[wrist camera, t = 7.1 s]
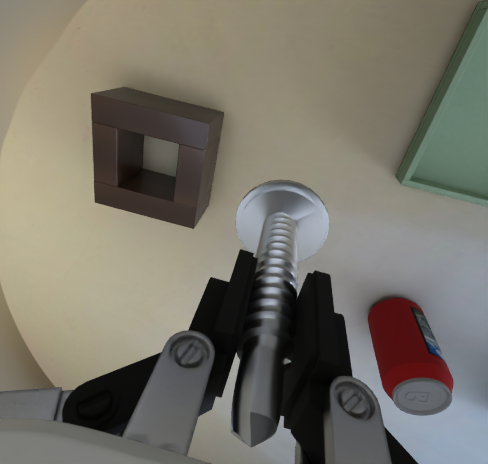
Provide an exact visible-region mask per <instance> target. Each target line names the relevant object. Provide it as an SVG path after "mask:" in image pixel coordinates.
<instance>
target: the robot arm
mask: <svg viewBox="0 0 488 464" xmlns="http://www.w3.org/2000/svg"><path fill="white" fill-rule="evenodd" d="M253 255H254V253H252V252H248V251H245V250H241V249H240V251H239V254H238V257H237V260H236V264H235V267H234V270H233V273H232V276H231V279H230V282H226V281H223V280H219V279H216V278H212V277H211V278H210V279H209V282H208V284H207V286H206V289H205V291H204V294H203V296H202V299H201V301H200V303H199V306H198V308H197V311H196V313H195V315H194V318H193V320H192V323H191V325H190V327H189V330H188V331H181V332H179V333H176V334H174V335H173V336H172V337H170V338H169V340H168V341H167V343H166V344H165V346H164V349H163V351H162V352H161V353H158V354H156V355H153V356H151V357H148V358H146V359H143V360H141V361H138V362H136V363H133V364H130V365H128V366H125V367H123V368H120V369H118V370H115V371H113V372H110V373H108V374H105V375H103V376H100V377H97V378H95V379H92V380H90V381H87V382H85V383H84V384H82V385H80V386H78V387H77V388H76V389H75V390H66V391H62V387H56V388H43V389H29V390H16V391H2V392H0V464H211V463H208V462H204V461H201V460H197V459H194V458H191V457H187V454H188V451H189V447H190V444H191V440H192V437H193V433H194V430H195V426H196V423H197V419H198V417H199V416H200V415H202V414H204V413H206V412H207V411H209V410H211V409H212V407H213V404H214V400H215V397H216V396H217V397H222V394H223V391H224V388H225V385H226V382H227V379H228V376H229V372H230V369H231V366H232V363H233V360H234V357H235V354H236V351H237V348H238V345H239V342H240V338H241V334H242V330H243V326H244V321H245V317H246V312H247V308H248V303H249V299H250V294H251V290H252V285H253V281H254V276H255V272H256V267H257V263H258V258H255V257H253ZM296 304H297V309H296V312H295V314H296V323H295V325H294V326H295V328H296V335H295V337H294V339H293V342H294V351H293V353H292V354H291V355H290V356H289V357H287V358H286V359H288V360H290V361H291V367H290V369H289V370H288V371H286V372H285V373H284V388H283V402H282V410H281V416H284V428H287V429H290V430H291V434H292V435H293V436H294V438H295V439H296V446H295V464H418V463H417V462H416V461H415V460H414V459H413V457H412V456H411V455H410V454H409V453H408V452H407V451H406V450H405V449H404V448H403V446H402V445H401V444H400V443H399V442H398V441H397V440H396V439H395V438H394V437H393V436H392V434H391V433H390V432H389V431H388V430H387V429H386V428H385V427H384V424H383V419H382V414H381V409H380V405H379V402H378V400H377V398H376V396H375V395H374V393H373V391H372V390H371V389H370V388H369V387H368V386H367V385H366V384H364V383H363V382H361V381H360V380H358V379H356V378H353V376H352V369H351V362H350V355H349V348H348V341H347V334H346V327H345V320H344V316H343V315H341V314H338V313H334V305H333V296H332V286H331V277H330V275H329V274H326V273H322V272H319V271H314V272H313V274H312V273H308V274H307V276H306V279H305V281H304V283H303V286H302V288H301V290H300V293H299V295H298V298H297V300H296Z"/></svg>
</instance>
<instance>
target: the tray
mask: <svg viewBox="0 0 488 464" xmlns="http://www.w3.org/2000/svg"><path fill="white" fill-rule="evenodd" d="M396 178H397V180H398V181H399V182H400V184H401V185H405V186H409V187H413V188H417V189H421V190H425V191H429V192H433V193H437V194H441V195H444V196H448V197H452V198H456V199H460V200H464V201H468V202H472V203H476V204H480V205H484V206H487V207H488V0H486V1H482V2H479V3H478V5H477V7H476V9H475V11H474V13H473V15H472V17H471V19H470V21H469V23H468V26H467V28H466V30H465V32H464V34H463V36H462V38H461V40H460V42H459V44H458V46H457V49H456V51H455V53H454V55H453V57H452V59H451V61H450V63H449V65H448V67H447V70H446V72H445V74H444V76H443V78H442V80H441V82H440V84H439V86H438V88H437V90H436V93H435V95H434V97H433V99H432V101H431V103H430V105H429V107H428V109H427V111H426V114H425V116H424V118H423V120H422V122H421V124H420V126H419V128H418V130H417V132H416V134H415V137H414V139H413V141H412V143H411V145H410V147H409V149H408V151H407V153H406V155H405V158H404V160H403V162H402V164H401V166H400V168H399V170H398V172H397V174H396Z"/></svg>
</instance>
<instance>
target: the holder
mask: <svg viewBox="0 0 488 464" xmlns="http://www.w3.org/2000/svg"><path fill="white" fill-rule="evenodd" d="M91 109H92V121H93V122H92V134H93V161H94V193H95V203H99V204H103V205H107V206H110V207H114V208H118V209H122V210H125V211H129V212H133V213H136V214H140V215H144V216H148V217H151V218H155V219H159V220H163V221H166V222H170V223H174V224H178V225H181V226H185V227H189V228H192V229H194V228H195V226H196V225H197V223H198V222H199V220H200V218H201V217H202V215H203V214H204V212H205V210H206V209H207V207H208V206H209V200H210V194H211V188H212V183H213V177H214V171H215V165H216V159H217V153H218V147H219V141H220V134H221V128H222V122H223V116H224V112H221V111H217V110H213V109H209V108H205V107H201V106H197V105H193V104H189V103H185V102H181V101H177V100H173V99H169V98H165V97H161V96H158V95H154V94H150V93H146V92H142V91H138V90H134V89H130V88H126V87H121V88H116V89H111V90H106V91H101V92H96V93H91ZM144 135H147V136H151V137H155V138H158V139H162V140H166V141H170V142H174V143H178V144H179V153H178V163H177V173H176V177H172V176H168V175H164V174H161V173H157V172H153V171H149V170H145V169H142V163H143V141H144Z"/></svg>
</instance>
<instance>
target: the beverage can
mask: <svg viewBox="0 0 488 464" xmlns="http://www.w3.org/2000/svg"><path fill="white" fill-rule="evenodd" d="M368 324H369V329H370V333H371V338H372V343H373V347H374V351H375V356H376V360H377V364H378V369H379V373H380V377H381V381H382V385H383V389H384V391H385V392H386V393H387V395H388V396H389V397H390V398H391V399H392V400H393V401H394V404H395V405H396V406H397V407H398V408H399V409H400V410H402V411H404V412H406V413H409V414H413V415H421V416H424V415H433V414H436V413H439V412H442V411H443V410H445V409H446V408H448V406H449V405H450V404H451V402H452V395H451V394H452V389H453V378H452V376H451V373H450V371H449V369H448V366H447V364H446V362H445V359H444V357H443V355H442V353H441V350H440V348H439V346H438V344H437V342H436V339H435V337H434V335H433V333H432V331H431V328H430V326H429V324H428V322H427V320H426V318H425V316H424V313H423V311H422V309H421V308H420V307H419V306H418V305H417V304H416V303H414V302H412V301H410V300H407V299H401V298H393V299H387V300H384V301H382V302H380V303H378V304H376V305H375V306H374V307H373V308H372V309H371V310H370V312H369V315H368Z"/></svg>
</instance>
